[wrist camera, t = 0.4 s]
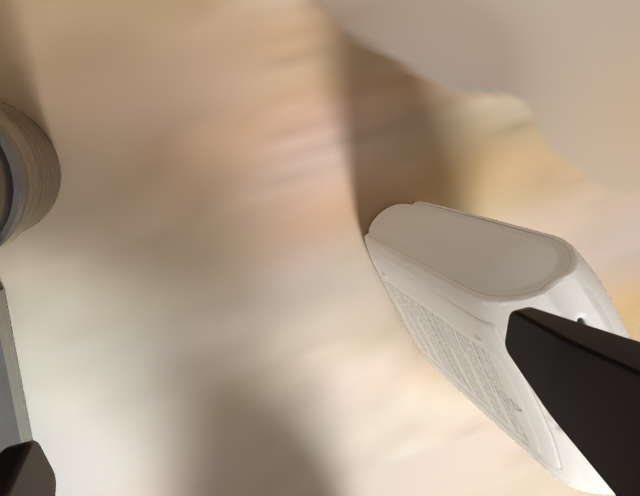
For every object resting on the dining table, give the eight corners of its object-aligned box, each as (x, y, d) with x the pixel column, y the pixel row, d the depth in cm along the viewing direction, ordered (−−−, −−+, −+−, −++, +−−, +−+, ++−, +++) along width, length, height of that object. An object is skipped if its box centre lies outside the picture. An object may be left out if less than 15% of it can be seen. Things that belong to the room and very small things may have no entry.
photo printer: (483, 332, 27) (707, 475, 15) (426, 373, 26) (614, 552, 15) (415, 186, 24) (638, 228, 12) (348, 229, 23) (514, 316, 11)
